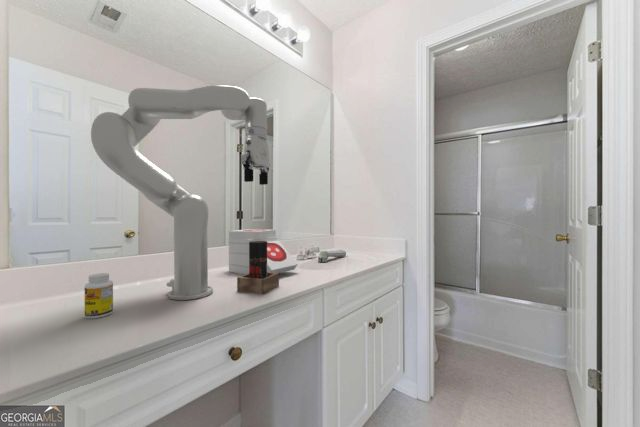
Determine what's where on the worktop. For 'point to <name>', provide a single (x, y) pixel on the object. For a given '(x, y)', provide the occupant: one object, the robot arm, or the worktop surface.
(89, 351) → the worktop surface
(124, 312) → the worktop surface
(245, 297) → the worktop surface
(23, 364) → the worktop surface
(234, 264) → the white stacked boxes
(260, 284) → the holder
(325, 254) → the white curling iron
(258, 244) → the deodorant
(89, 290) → the supplement bottle
